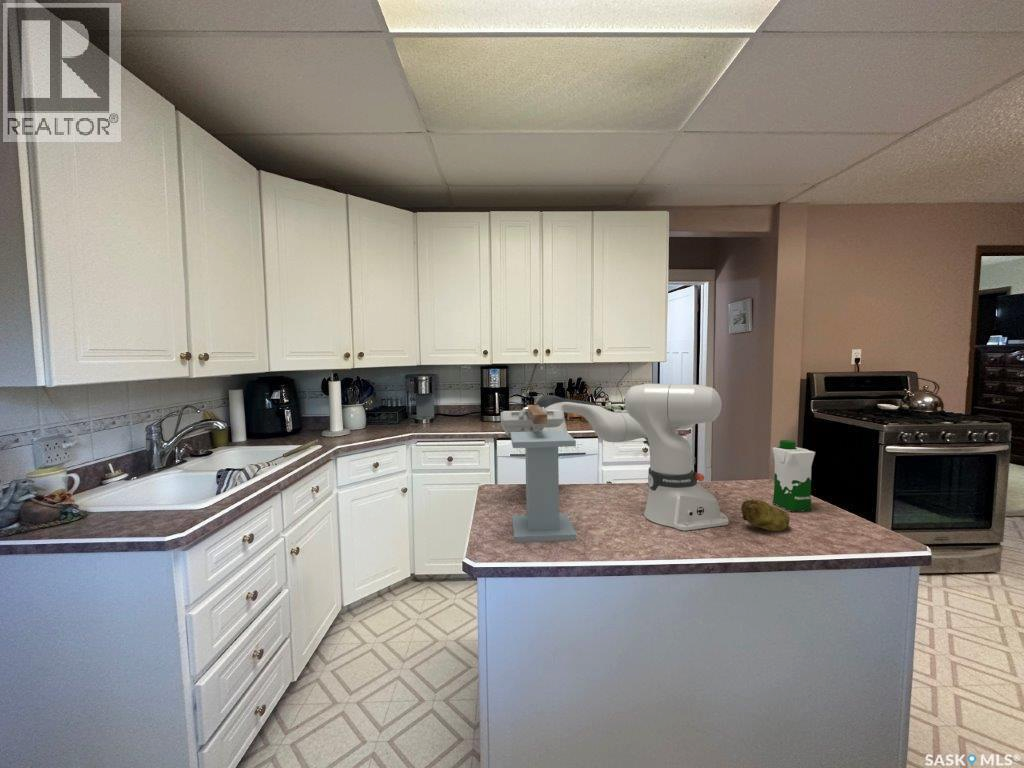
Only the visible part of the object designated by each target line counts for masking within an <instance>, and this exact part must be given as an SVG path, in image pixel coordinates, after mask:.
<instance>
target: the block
mask: <svg viewBox="0 0 1024 768" xmlns="http://www.w3.org/2000/svg"><path fill="white" fill-rule="evenodd" d="M526 407H528V415H529V417H530V419H531V420H532V422H533V423H534V424H547V414H546V413H545V412H544V411H543V410H542V409H541V408H540V406H539V405H535V404H526Z"/></svg>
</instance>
